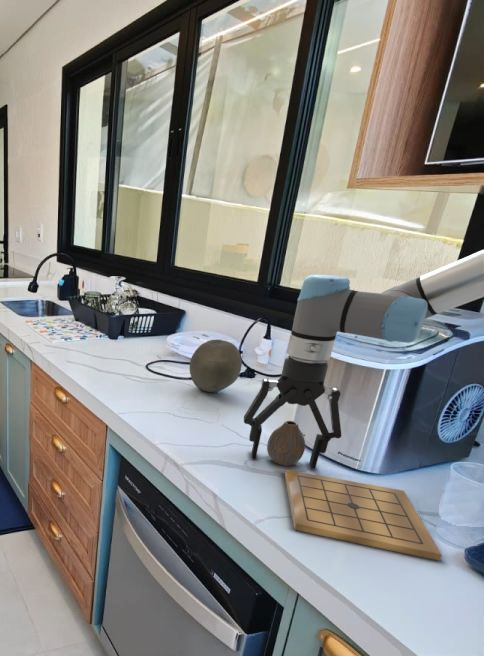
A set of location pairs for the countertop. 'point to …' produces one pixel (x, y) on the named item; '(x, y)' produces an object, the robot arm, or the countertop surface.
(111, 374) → the countertop surface
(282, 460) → the vase
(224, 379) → the cantaloupe
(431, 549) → the board
